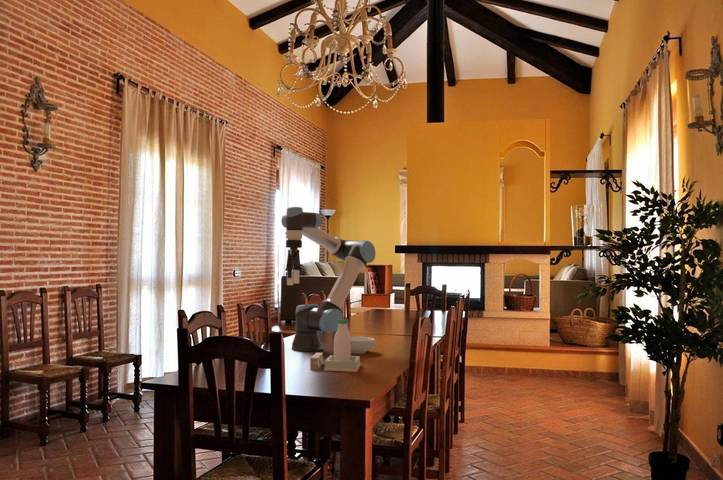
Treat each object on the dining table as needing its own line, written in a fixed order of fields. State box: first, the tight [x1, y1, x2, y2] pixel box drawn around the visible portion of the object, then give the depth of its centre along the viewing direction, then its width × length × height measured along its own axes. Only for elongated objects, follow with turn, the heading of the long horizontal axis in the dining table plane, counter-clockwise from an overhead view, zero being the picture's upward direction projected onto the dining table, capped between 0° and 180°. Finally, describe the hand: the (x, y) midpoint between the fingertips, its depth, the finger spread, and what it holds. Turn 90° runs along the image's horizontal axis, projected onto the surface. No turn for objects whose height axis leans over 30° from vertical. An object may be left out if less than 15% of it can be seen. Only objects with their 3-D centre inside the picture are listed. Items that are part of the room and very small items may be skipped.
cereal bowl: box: [351, 336, 376, 355], centre depth 301 cm, size 17×17×7 cm
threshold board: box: [309, 352, 324, 371], centre depth 263 cm, size 14×3×5 cm, turn 174°
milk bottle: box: [333, 318, 352, 361], centre depth 262 cm, size 8×8×20 cm
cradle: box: [323, 354, 361, 373], centre depth 262 cm, size 14×14×4 cm
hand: (293, 284), depth 284 cm, fingers open, 13 cm apart
